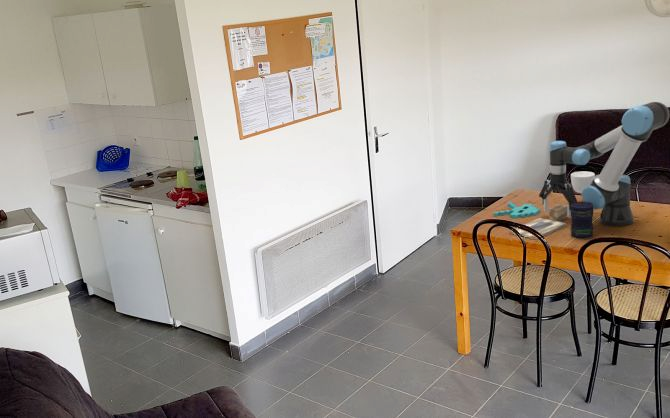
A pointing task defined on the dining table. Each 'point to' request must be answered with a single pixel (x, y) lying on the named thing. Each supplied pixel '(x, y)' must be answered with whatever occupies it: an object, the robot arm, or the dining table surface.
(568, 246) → the dining table surface
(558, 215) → the block
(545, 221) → the board
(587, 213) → the storage jar
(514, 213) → the alien figure
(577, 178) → the cup
